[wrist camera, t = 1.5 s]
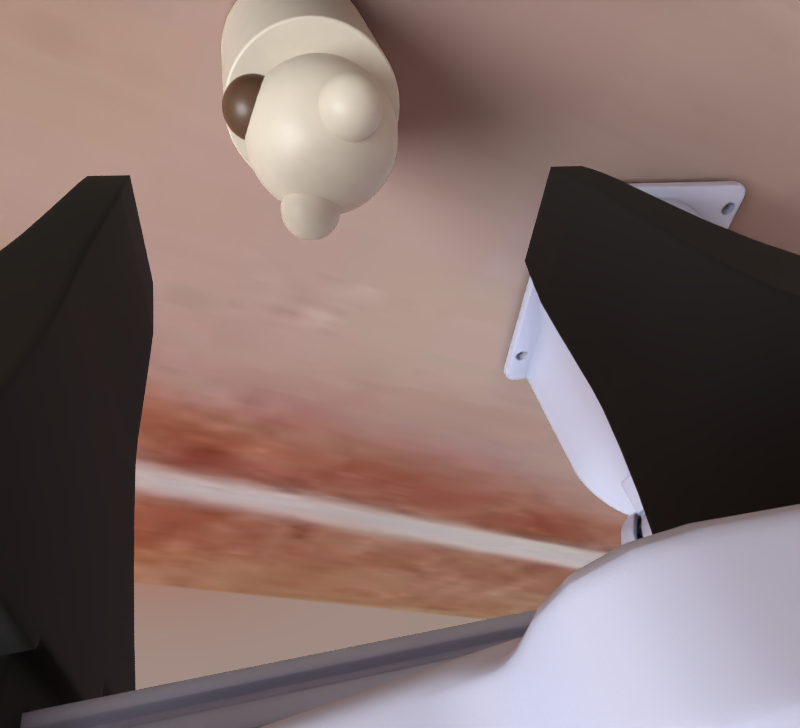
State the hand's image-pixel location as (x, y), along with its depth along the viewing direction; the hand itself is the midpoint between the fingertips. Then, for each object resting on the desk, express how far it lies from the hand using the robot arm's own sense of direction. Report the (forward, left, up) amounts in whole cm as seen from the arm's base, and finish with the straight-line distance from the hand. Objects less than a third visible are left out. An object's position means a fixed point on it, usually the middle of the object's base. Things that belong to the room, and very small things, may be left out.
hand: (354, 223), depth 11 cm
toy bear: (0, 0, -10) cm, 10 cm away
